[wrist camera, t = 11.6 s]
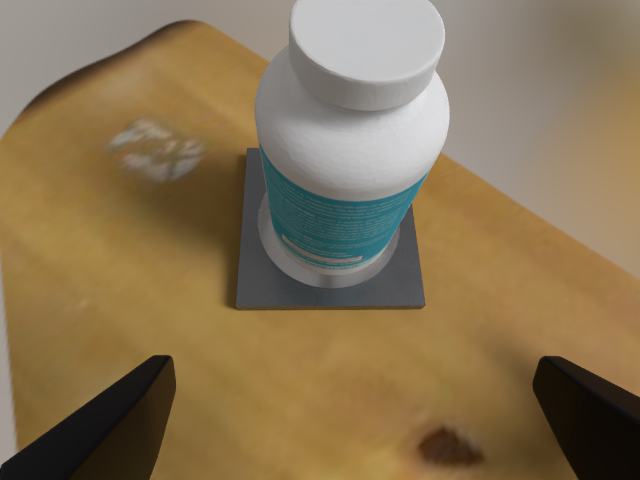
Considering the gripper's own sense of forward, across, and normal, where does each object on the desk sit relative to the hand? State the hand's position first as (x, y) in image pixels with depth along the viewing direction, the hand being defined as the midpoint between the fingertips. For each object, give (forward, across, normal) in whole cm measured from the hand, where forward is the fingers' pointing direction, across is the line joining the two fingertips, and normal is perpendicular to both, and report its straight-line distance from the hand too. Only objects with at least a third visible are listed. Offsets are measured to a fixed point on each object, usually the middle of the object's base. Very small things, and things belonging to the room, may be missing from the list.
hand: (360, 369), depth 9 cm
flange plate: (+16, 0, +2) cm, 16 cm away
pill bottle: (+15, 0, +1) cm, 15 cm away
